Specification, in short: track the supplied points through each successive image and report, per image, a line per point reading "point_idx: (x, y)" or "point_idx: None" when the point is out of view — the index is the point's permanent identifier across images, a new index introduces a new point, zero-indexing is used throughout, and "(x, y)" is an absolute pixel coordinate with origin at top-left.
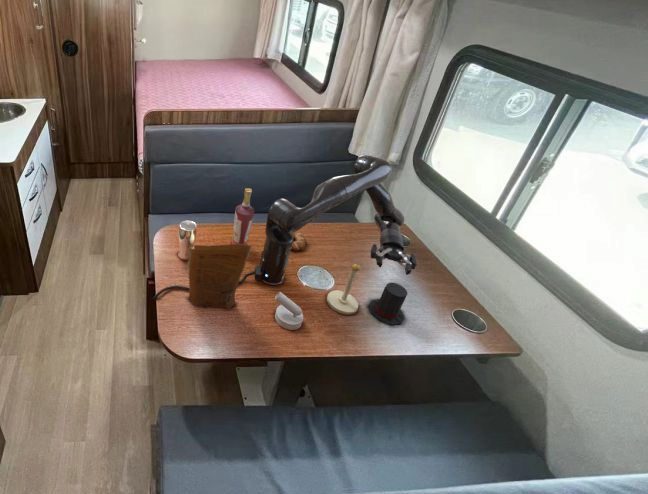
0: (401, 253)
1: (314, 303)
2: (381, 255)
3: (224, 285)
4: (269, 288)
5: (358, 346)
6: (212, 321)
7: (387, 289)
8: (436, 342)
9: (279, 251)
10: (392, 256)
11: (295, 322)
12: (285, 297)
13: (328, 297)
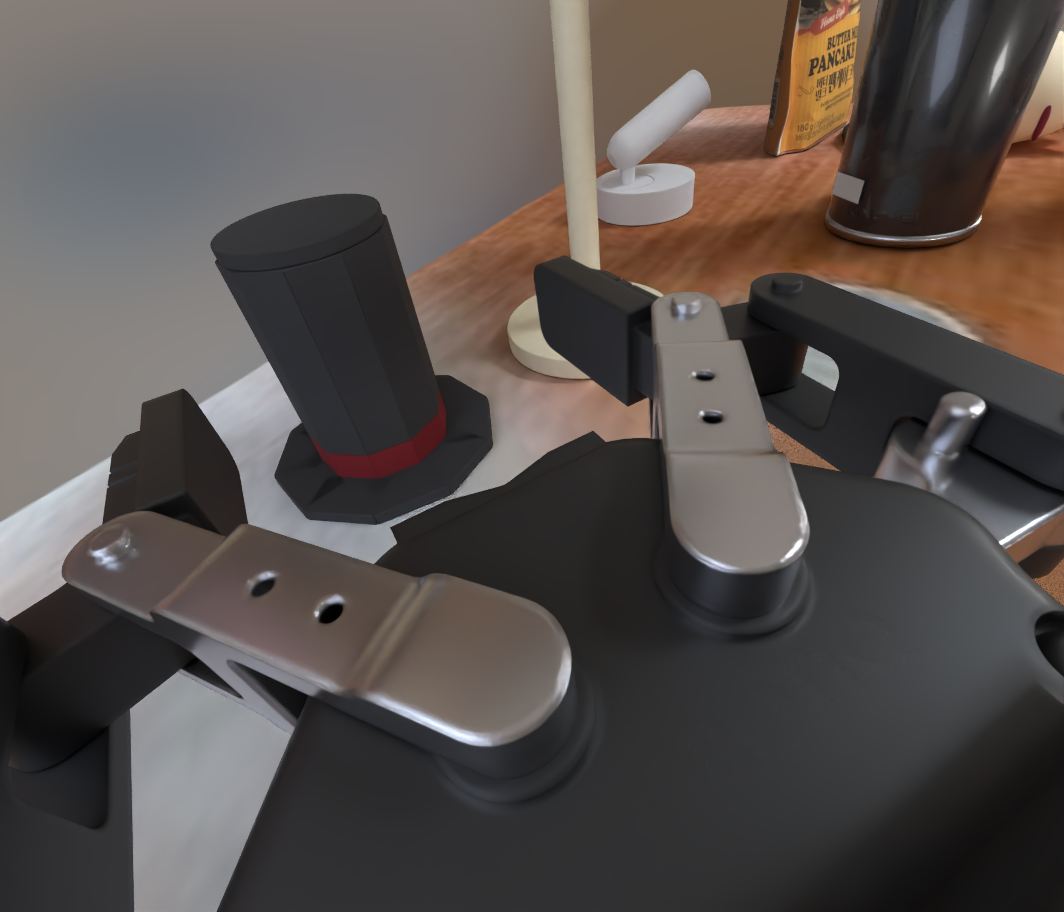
0: (347, 653)
1: (657, 269)
2: (661, 317)
3: (787, 8)
4: (814, 210)
5: (419, 279)
6: (732, 135)
7: (359, 195)
8: (96, 489)
9: None
10: (530, 485)
11: (604, 179)
12: (673, 86)
13: (645, 287)
